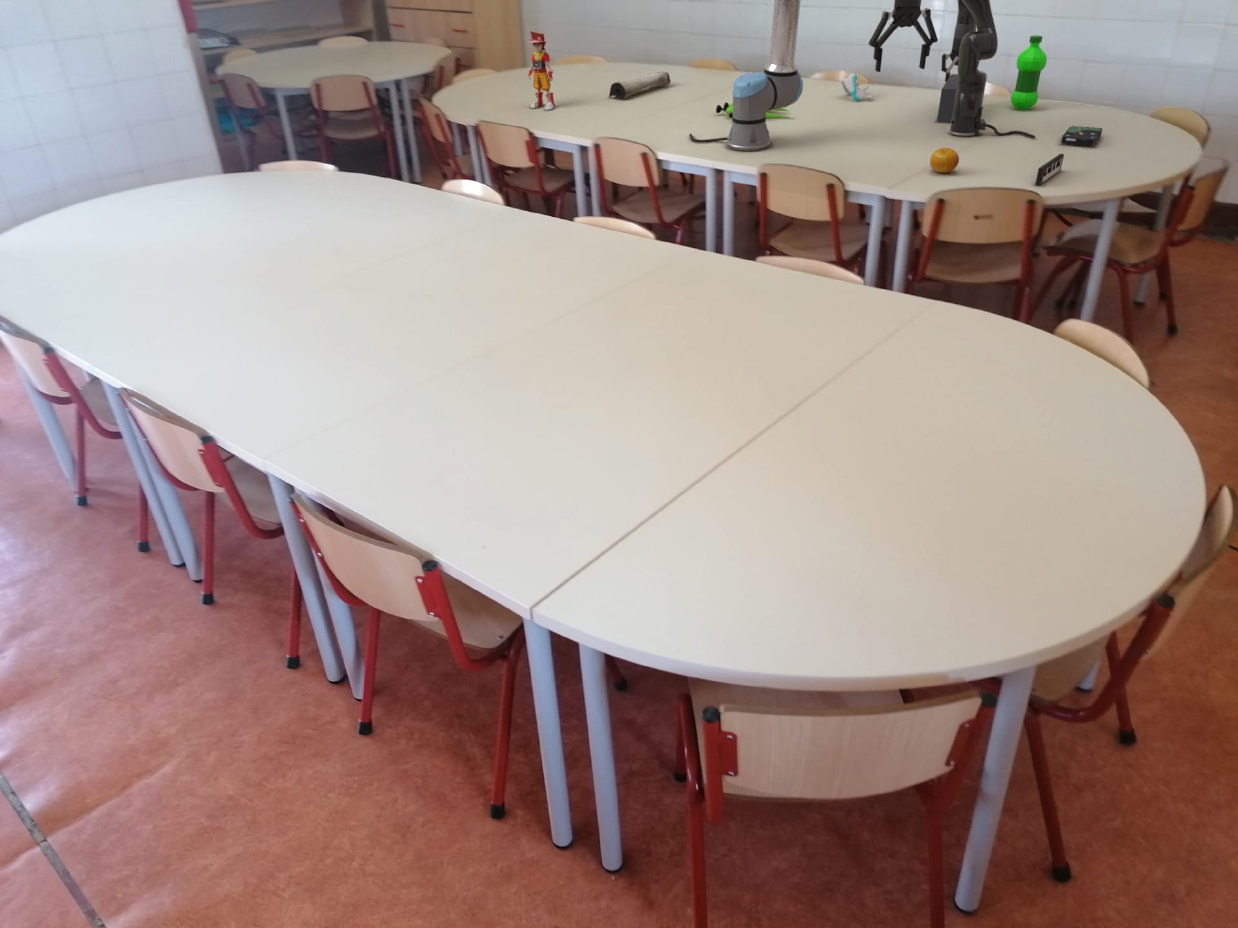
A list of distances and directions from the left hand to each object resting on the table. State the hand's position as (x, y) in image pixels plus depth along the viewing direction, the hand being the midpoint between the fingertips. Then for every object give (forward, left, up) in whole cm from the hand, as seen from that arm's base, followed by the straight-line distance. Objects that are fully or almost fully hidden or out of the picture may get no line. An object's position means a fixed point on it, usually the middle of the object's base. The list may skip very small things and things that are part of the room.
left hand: (899, 70), depth 273 cm
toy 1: (-161, +18, -30) cm, 165 cm away
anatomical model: (-48, +84, -30) cm, 101 cm away
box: (-5, +74, -30) cm, 80 cm away
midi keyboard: (+46, +12, -30) cm, 56 cm away
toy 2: (-71, +43, -30) cm, 88 cm away
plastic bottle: (+17, +92, -30) cm, 98 cm away
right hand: (-7, +83, -21) cm, 86 cm away
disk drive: (+46, +57, -30) cm, 79 cm away
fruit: (+16, +4, -30) cm, 34 cm away
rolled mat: (-137, +58, -30) cm, 152 cm away
